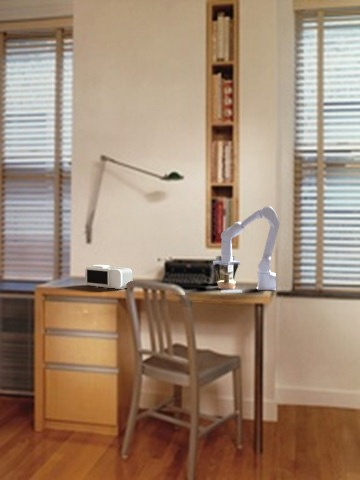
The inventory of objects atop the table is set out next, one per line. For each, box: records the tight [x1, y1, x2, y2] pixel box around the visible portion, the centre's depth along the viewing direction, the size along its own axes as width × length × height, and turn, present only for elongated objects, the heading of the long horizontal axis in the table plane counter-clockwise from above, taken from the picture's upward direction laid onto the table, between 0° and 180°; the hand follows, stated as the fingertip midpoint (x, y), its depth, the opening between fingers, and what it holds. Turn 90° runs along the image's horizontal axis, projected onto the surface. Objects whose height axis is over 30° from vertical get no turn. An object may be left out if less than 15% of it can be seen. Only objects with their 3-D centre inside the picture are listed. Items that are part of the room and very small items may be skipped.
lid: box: [217, 274, 237, 285], centre depth 288 cm, size 10×10×5 cm
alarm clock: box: [84, 264, 134, 290], centre depth 294 cm, size 27×9×12 cm, turn 53°
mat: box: [220, 289, 244, 294], centre depth 276 cm, size 11×11×1 cm
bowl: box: [217, 284, 236, 290], centre depth 288 cm, size 9×9×3 cm
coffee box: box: [215, 255, 235, 285], centre depth 307 cm, size 9×6×16 cm
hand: (226, 278), depth 288 cm, fingers open, 7 cm apart
